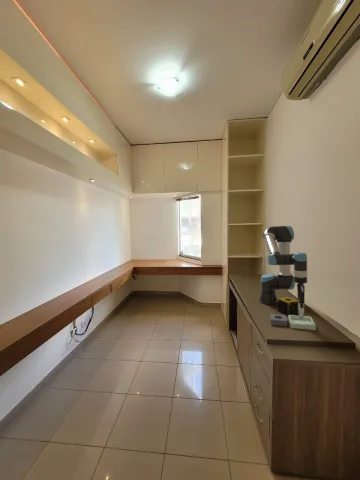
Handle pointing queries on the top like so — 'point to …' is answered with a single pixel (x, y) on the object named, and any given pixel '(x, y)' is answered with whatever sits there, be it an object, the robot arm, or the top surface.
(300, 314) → the pin
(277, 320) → the socket block
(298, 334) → the top surface
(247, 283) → the top surface
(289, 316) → the tray
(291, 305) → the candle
